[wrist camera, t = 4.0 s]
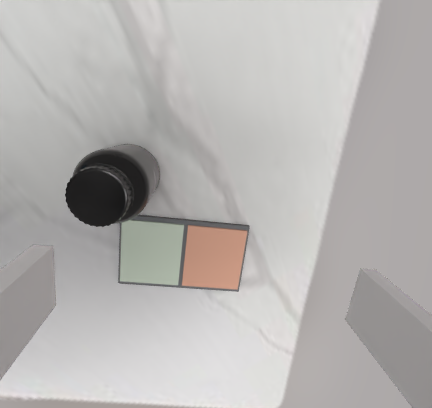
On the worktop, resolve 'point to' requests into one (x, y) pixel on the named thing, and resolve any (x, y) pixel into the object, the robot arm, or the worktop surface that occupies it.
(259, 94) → the worktop surface
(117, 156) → the supplement bottle
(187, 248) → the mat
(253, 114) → the worktop surface
